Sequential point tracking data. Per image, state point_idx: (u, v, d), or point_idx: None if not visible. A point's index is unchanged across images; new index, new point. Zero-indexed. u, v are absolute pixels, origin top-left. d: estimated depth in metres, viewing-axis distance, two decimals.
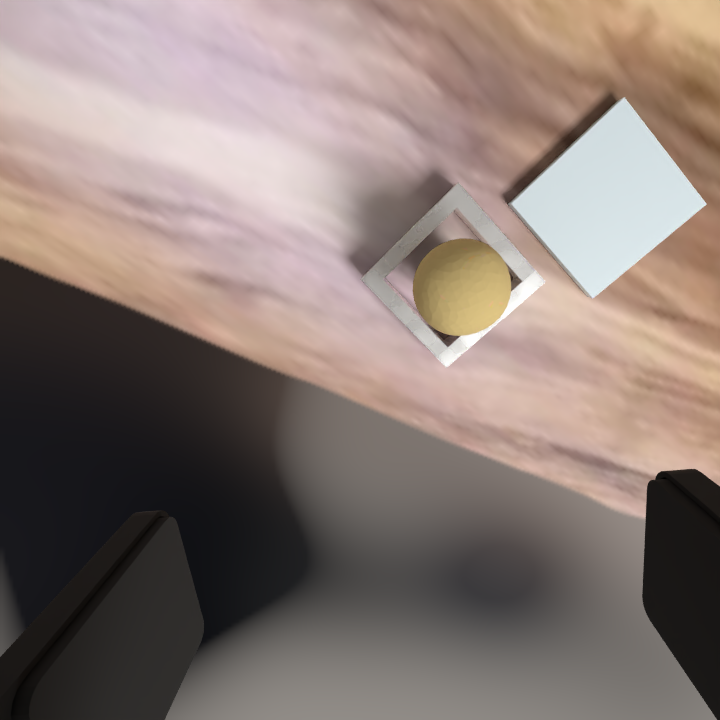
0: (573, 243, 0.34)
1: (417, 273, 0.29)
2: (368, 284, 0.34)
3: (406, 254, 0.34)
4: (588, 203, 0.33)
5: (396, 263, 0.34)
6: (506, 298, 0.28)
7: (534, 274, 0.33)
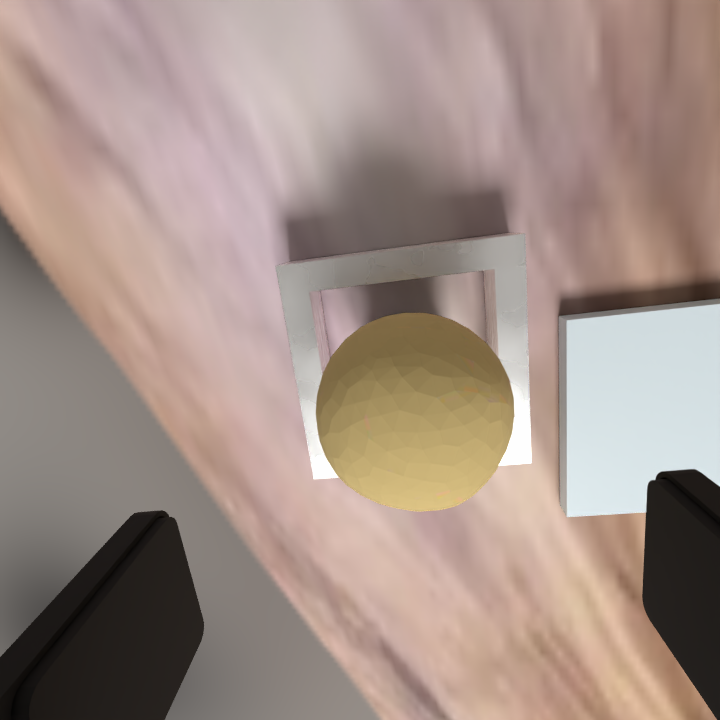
0: (600, 433, 0.21)
1: (357, 337, 0.13)
2: (282, 282, 0.18)
3: (371, 281, 0.18)
4: (660, 397, 0.20)
5: (346, 283, 0.18)
6: (473, 494, 0.13)
7: (525, 443, 0.19)
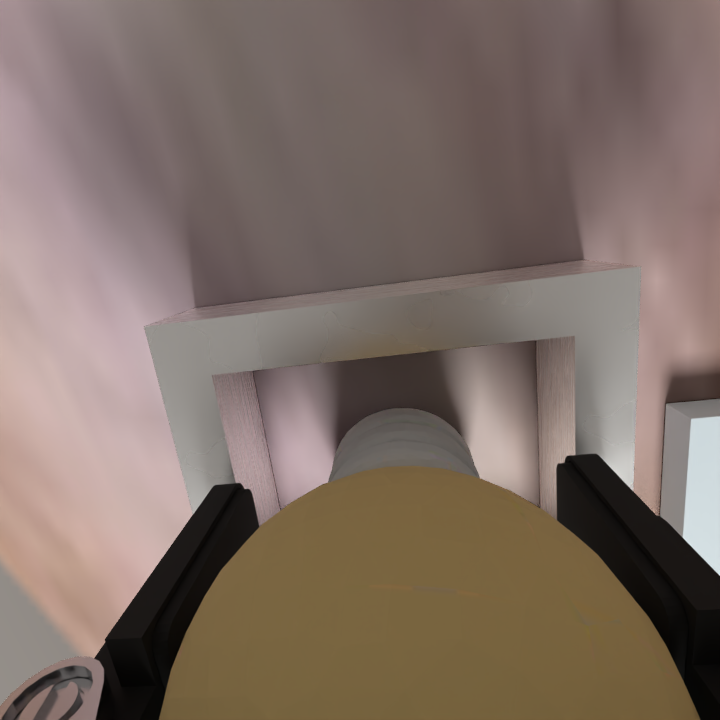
0: None
1: (256, 589, 0.05)
2: (159, 357, 0.09)
3: (330, 356, 0.09)
4: None
5: (283, 359, 0.09)
6: None
7: None
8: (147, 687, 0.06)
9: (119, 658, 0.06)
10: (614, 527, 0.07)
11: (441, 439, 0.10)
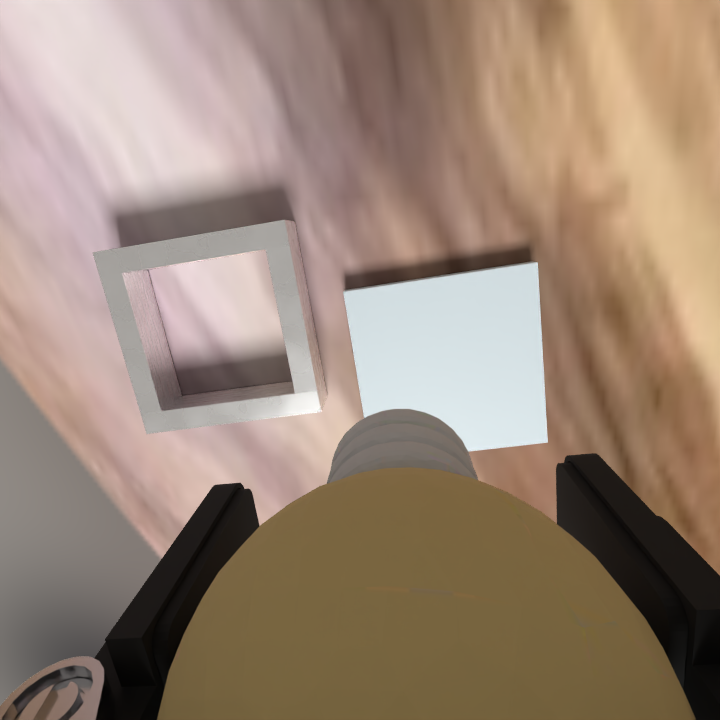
0: (386, 387, 0.25)
1: (253, 591, 0.05)
2: (99, 266, 0.22)
3: (169, 262, 0.22)
4: (428, 354, 0.24)
5: (151, 264, 0.22)
6: None
7: (313, 394, 0.23)
8: (147, 687, 0.06)
9: (119, 658, 0.06)
10: (614, 527, 0.07)
11: (439, 440, 0.10)
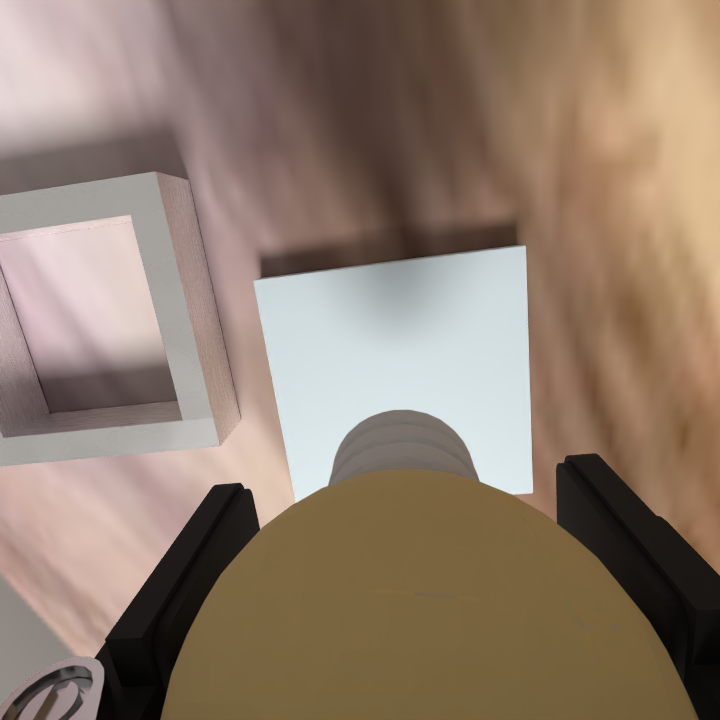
0: (315, 413, 0.18)
1: (256, 594, 0.05)
2: None
3: None
4: (372, 370, 0.17)
5: None
6: None
7: (208, 422, 0.17)
8: (147, 687, 0.06)
9: (119, 658, 0.06)
10: (614, 527, 0.07)
11: (441, 441, 0.10)
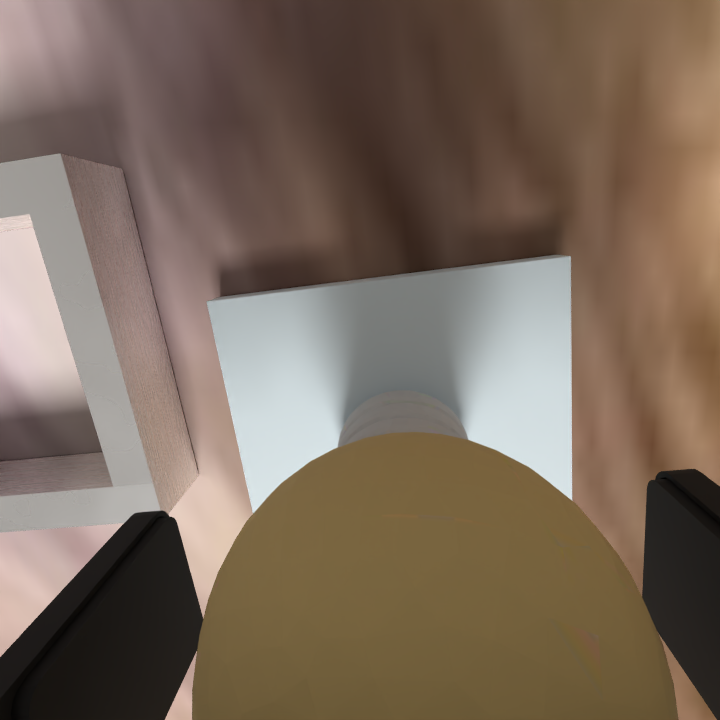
0: (291, 471, 0.14)
1: (284, 524, 0.05)
2: None
3: None
4: None
5: None
6: None
7: (146, 490, 0.13)
8: None
9: None
10: None
11: (439, 417, 0.11)
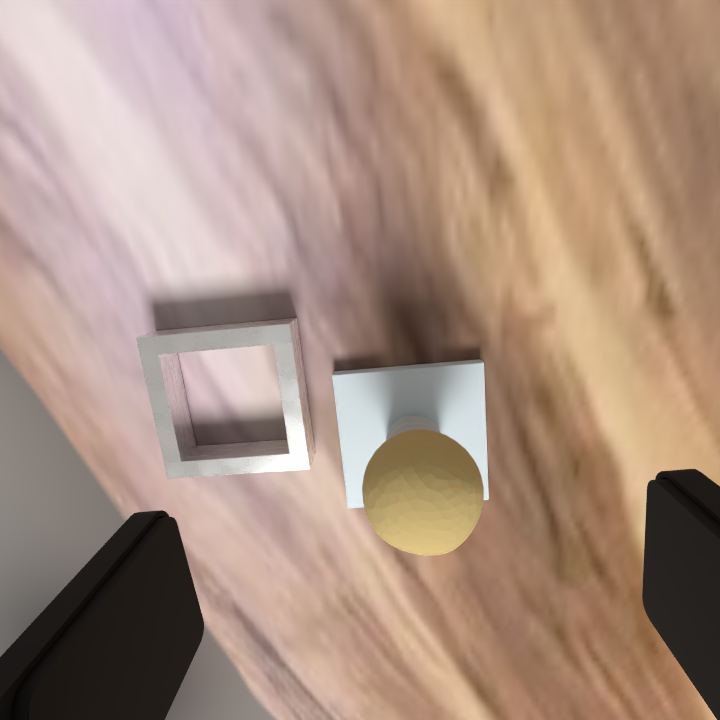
0: (363, 450, 0.31)
1: (391, 449, 0.22)
2: (141, 348, 0.28)
3: (197, 349, 0.28)
4: None
5: (182, 350, 0.28)
6: (458, 545, 0.22)
7: (304, 455, 0.30)
8: None
9: None
10: None
11: (429, 426, 0.28)
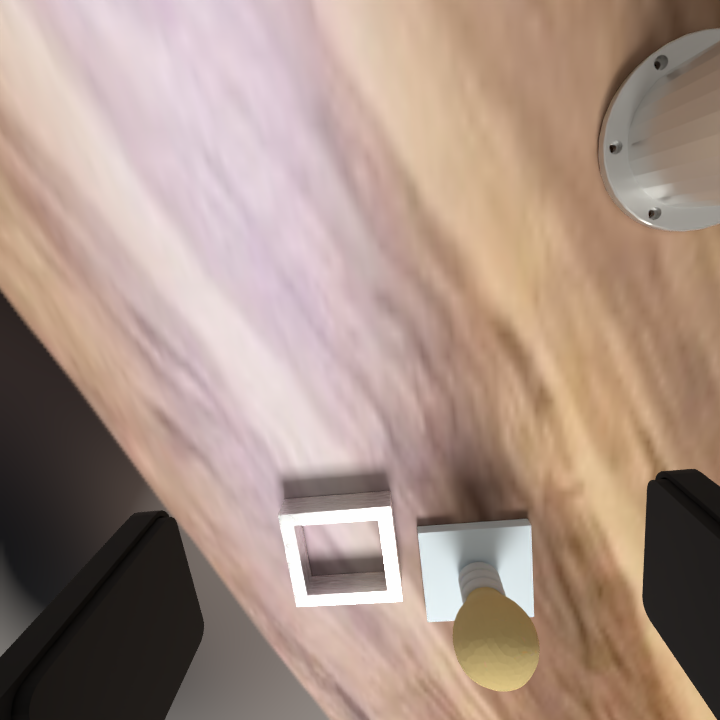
0: (439, 583, 0.42)
1: (476, 619, 0.33)
2: (281, 521, 0.39)
3: (322, 522, 0.39)
4: None
5: (311, 523, 0.39)
6: None
7: (398, 592, 0.40)
8: None
9: None
10: None
11: (492, 576, 0.39)
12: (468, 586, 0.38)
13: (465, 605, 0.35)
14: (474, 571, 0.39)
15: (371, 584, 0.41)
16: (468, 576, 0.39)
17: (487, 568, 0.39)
